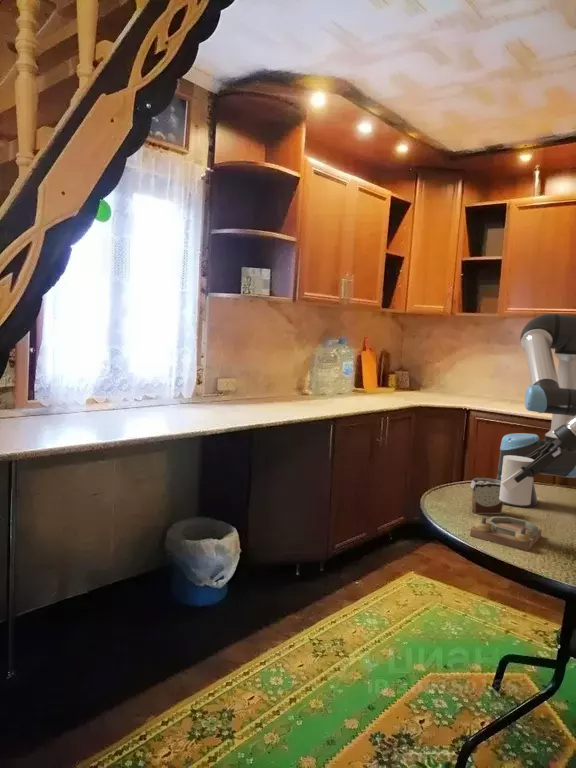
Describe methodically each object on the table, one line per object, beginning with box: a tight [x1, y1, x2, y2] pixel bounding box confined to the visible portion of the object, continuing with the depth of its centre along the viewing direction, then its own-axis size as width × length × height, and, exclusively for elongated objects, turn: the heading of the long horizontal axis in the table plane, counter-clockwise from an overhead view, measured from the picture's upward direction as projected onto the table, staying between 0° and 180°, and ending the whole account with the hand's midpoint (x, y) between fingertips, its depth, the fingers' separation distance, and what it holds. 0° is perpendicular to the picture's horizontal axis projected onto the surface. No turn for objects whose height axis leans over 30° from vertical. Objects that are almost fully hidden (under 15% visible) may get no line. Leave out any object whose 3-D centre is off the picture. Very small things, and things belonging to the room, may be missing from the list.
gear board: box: [469, 516, 542, 552], centre depth 162 cm, size 16×15×5 cm
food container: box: [469, 477, 504, 515], centre depth 185 cm, size 12×6×10 cm, turn 104°
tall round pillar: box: [499, 455, 534, 505], centre depth 161 cm, size 8×8×12 cm
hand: (504, 483), depth 162 cm, fingers closed on tall round pillar, 8 cm apart
